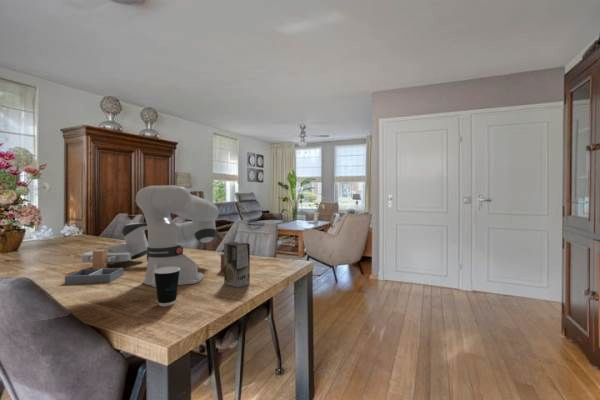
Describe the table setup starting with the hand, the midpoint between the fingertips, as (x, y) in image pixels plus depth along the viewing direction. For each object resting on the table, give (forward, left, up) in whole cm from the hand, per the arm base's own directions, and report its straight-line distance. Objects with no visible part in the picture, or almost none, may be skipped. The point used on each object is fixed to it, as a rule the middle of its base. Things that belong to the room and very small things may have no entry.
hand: (98, 260), depth 130 cm
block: (0, -1, -6) cm, 6 cm away
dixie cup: (-41, +44, -6) cm, 61 cm away
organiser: (-4, +11, -6) cm, 13 cm away
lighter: (-57, +5, -6) cm, 58 cm away
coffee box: (-62, +26, -6) cm, 68 cm away
